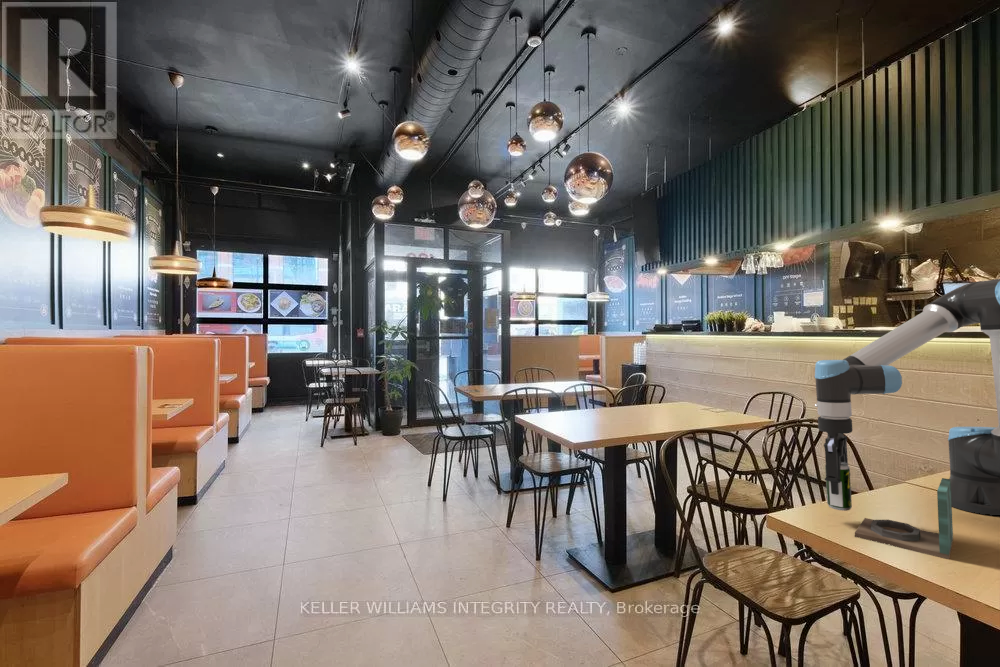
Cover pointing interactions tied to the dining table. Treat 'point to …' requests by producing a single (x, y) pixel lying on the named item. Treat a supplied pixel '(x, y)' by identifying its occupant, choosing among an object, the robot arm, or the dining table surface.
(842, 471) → the green drink can
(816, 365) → the robot arm
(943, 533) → the seat plate
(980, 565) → the dining table surface
